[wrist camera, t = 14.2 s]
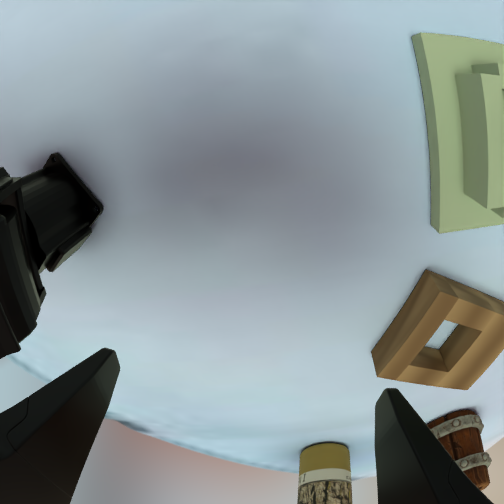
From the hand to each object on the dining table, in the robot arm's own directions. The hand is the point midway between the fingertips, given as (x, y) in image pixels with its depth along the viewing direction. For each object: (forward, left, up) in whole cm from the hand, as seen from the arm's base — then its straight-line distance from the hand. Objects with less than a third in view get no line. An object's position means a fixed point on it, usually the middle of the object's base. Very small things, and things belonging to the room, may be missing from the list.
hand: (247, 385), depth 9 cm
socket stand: (+4, +18, -13) cm, 23 cm away
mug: (+38, 0, -13) cm, 40 cm away
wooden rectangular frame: (+17, +7, -13) cm, 23 cm away
